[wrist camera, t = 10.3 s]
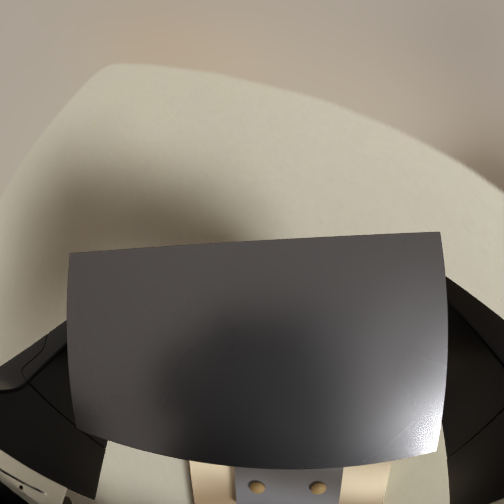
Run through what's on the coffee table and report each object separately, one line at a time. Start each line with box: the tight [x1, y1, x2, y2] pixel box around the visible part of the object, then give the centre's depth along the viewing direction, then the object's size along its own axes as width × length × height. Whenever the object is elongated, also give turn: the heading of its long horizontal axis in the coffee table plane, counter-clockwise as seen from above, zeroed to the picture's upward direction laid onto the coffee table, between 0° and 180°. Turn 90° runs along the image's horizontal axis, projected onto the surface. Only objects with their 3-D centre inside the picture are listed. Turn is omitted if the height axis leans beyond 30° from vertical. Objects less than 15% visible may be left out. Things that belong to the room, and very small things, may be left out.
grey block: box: [67, 232, 448, 470], centre depth 10 cm, size 6×6×14 cm
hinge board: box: [189, 461, 391, 504], centre depth 15 cm, size 22×14×3 cm, turn 1°
